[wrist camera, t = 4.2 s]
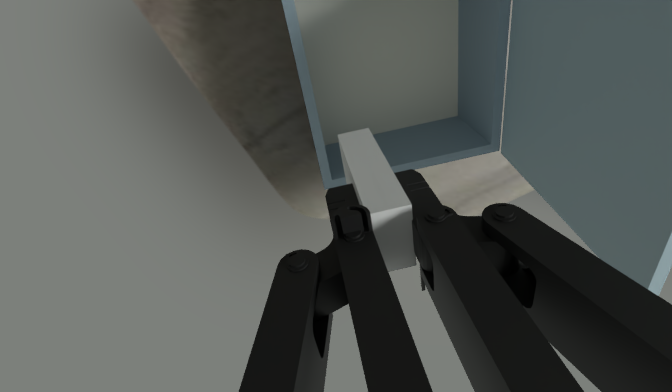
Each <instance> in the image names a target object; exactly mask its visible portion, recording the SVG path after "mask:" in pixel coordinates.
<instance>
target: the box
mask: <svg viewBox="0 0 672 392" xmlns="http://www.w3.org/2000/svg"><path fill="white" fill-rule="evenodd" d="M282 4H283V9H284V13H285V18H286V22H287V26H288V31H289V35H290V39H291V44H292V48H293V53H294V57H295V61H296V66H297V70H298V74H299V79H300V83H301V88H302V92H303V96H304V101H305V105H306V109H307V114H308V118H309V123H310V127H311V131H312V136H313V140H314V145H315V149H316V153H317V158H318V162H319V166H320V171H321V175H322V180H323V184H324V188H325V190H326V189H329V188H333V187H338V186H342V185H347V183H346V178H345V173H344V167H343V162H342V157H341V151H340V146H339V141H338V134H343V133H347V132H352V131H356V130H361V129H365V128H369V130H370V131H371V133H372V135H373V137H374V138H375V140H376V142H377V144H378V146H379V147H380V149H381V151H382V153H383V154H384V156H385V158H386V160H387V162H388V163H389V165H390V167H391V169H392V170H393V172H394V173H396V172H400V171H405V170H409V169H413V170H415V169H419V168H424V167H428V166H433V165H437V164H441V163H446V162H450V161H455V160H459V159H464V158H468V157H473V156H477V155H482V154H486V153H490V152H495V151H499V148H500V135H501V122H502V109H503V96H504V83H505V69H506V56H507V43H508V30H509V17H510V4H511V0H282Z"/></svg>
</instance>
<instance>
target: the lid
mask: <svg viewBox="0 0 672 392" xmlns="http://www.w3.org/2000/svg"><path fill="white" fill-rule="evenodd" d="M501 154H502V155H503V156H504V157H505V158H506V159H507V160H508V161H509V162H510V163H511V164H512V165H513V166H514V167H515V169H516V170H517V171H518V172H519V173H520V174H521V175H522V176H523V177H524V178H525V179H526V180H527V181H528V182H529V184H530V185H531V186H532V187H533V188H534V189H535V190H536V191H537V192H538V193H539V194H540V195H541V196H542V197H543V199H544V200H545V201H546V202H547V203H548V204H549V205H550V206H551V207H552V208H553V209H554V210H555V211H556V212H557V213H558V215H559V216H560V217H561V218H562V219H563V220H564V221H565V222H566V223H567V224H568V225H569V226H570V227H571V229H572V230H574V232H575V233H576V234H577V235H578V236H579V237H580V238H581V239H582V240H583V241H584V242H585V243H586V244H587V246H588V247H589V248H590V249H591V250H592V251H593V252H594V253H595V254H596V255H597V256H598V257H599V258H600V259H601V260H603V261H604V262H606V263H607V264H609V265H610V266H612V267H614V268H615V269H617V270H618V271H620V272H621V273H623V274H625V275H626V276H628V277H629V278H631V279H632V280H634V281H635V282H637V283H639V284H640V285H642V286H643V287H645V288H646V289H648V290H650V291H651V292H653V293H654V294H656V295H657V296H659V293H660V291H661V289H662V287H663V284H664V282H665V280H666V278H667V276H668V273H669V271H670V269H671V267H672V0H513V7H512V20H511V32H510V45H509V58H508V70H507V83H506V95H505V108H504V121H503V133H502V146H501Z"/></svg>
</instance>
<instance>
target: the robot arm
mask: <svg viewBox="0 0 672 392" xmlns="http://www.w3.org/2000/svg"><path fill="white" fill-rule="evenodd" d="M338 141H339V146H340V151H341V157H342V162H343V167H344V173H345V178H346V183H347V185H342V186H338V187H333V188H329V189H328V192H327V194H326V196H325V197H326V202H327V206H328V211H329V215H330V222H331V226H332V230H333V240H332V242H331V243H330V245H329V246H328V247H326V248H325V249H324V250H322V251H320V252H318V253H316V254H315V253H314V252H312V251H309V250H302V249H301V250H296V251H293V252H291V253H289V254H286V255H285V256H284V257H283V258H282V259H281V260H280V262H279V264H278V266H277V269H276V273H275V276H274V279H273V283H272V286H271V289H270V292H269V295H268V299H267V302H266V305H265V308H264V312H263V315H262V318H261V321H260V325H259V328H258V331H257V334H256V337H255V341H254V344H253V347H252V351H251V354H250V357H249V360H248V364H247V367H246V370H245V373H244V376H243V380H242V383H241V386H240V389H239V392H324V384H325V376H326V368H327V360H328V351H329V343H330V335H331V326H332V318H333V314H332V313H333V312H334V311H336V310H338V309H340V308H342V307H343V306H345V305H347V304H349V307H350V311H351V316H352V320H353V325H354V329H355V334H356V338H357V343H358V347H359V352H360V356H361V361H362V365H363V370H364V374H365V379H366V384H367V388H368V392H432V389H431V386H430V384H429V381H428V378H427V375H426V373H425V370H424V367H423V365H422V362H421V359H420V357H419V354H418V351H417V348H416V346H415V343H414V340H413V338H412V335H411V332H410V330H409V327H408V324H407V321H406V319H405V316H404V313H403V311H402V308H401V305H400V303H399V300H398V297H397V294H396V292H395V289H394V286H393V284H392V281H391V278H390V275H389V273H388V272H390V271H394V270H398V269H403V268H407V267H411V266H415V265H416V257H417V259H418V261H419V263H420V273H421V286H422V291H423V290H425V285H426V287H427V289H428V292H429V294H430V296H431V298H432V300H433V302H434V304H435V306H436V309H437V311H438V313H439V315H440V318H441V320H442V322H443V324H444V326H445V328H446V330H447V333H448V335H449V337H450V339H451V341H452V343H453V345H454V348H455V350H456V352H457V354H458V356H459V359H460V361H461V363H462V365H463V367H464V369H465V371H466V374H467V376H468V378H469V380H470V382H471V385H472V387H473V389H474V391H475V392H584V391H583V390H582V388H581V387H580V385H579V384H578V383H577V381H576V380H575V378H574V377H573V376H572V374H571V373H570V371H569V370H568V369H567V368H566V366H565V364H564V363H563V362H562V360H561V359H560V357H559V356H558V355H557V353H556V352H555V350H554V349H553V348H552V346H551V345H550V343H551V344H552V345H553V346H554V347H555V348H556V349H557V350H558V351H559V352H560V353H561V354H562V355H563V356H564V357H565V358H566V359H567V360H568V361H570V362H571V363H572V364H573V365H574V366H575V367H576V368H577V369H578V370H579V371H580V372H581V373H582V374H584V376H585V377H586V378H588V379H589V380H590V381H591V382H592V383H593V384H594V385H595V386H596V387H597V388H598V389H599V390H600V391H601V392H672V305H671V304H670V303H668V302H667V301H665V300H664V299H662V298H660V297H659V296H657V295H656V294H654V293H653V292H651V291H650V290H648V289H646V288H645V287H643V286H642V285H640V284H639V283H637V282H635V281H634V280H632V279H631V278H629V277H628V276H626V275H625V274H623V273H621V272H620V271H618V270H617V269H615V268H614V267H612V266H610V265H609V264H607V263H606V262H604V261H603V260H601V259H599V258H598V257H596V256H595V255H593V254H592V253H590V252H588V251H587V250H585V249H584V248H582V247H581V246H579V245H578V244H576V243H574V242H573V241H571V240H570V239H568V238H567V237H565V236H563V235H562V234H560V233H559V232H557V231H556V230H554V229H552V228H551V227H549V226H548V225H546V224H545V223H543V222H542V221H540V220H538V219H537V218H535V217H534V216H532V215H530V214H528V213H527V212H526V211H524V210H523V209H521V208H519V207H517V206H515V205H512V204H507V203H496V204H493V205H489V206H488V207H486V208H485V209H484V210H483V212H482V216H460V215H457V213H456V212H455V211H454V210H453V209H451V208H449V207H447V206H443V205H442V204H441V203H440V201H439V200H438V198H437V197H436V195H435V194H434V192H433V191H432V189H431V188H429V185H428V184H427V182H426V181H425V179H424V178H423V176H422V175H421V174H420V173H418V172H416V171H415V170H413V169H409V170H405V171H400V172H396V173H394V172H393V170H392V169H391V167H390V165H389V163H388V162H387V160H386V158H385V156H384V154H383V153H382V151H381V149H380V147H379V146H378V144H377V142H376V140H375V138H374V137H373V135H372V133H371V131H370V130H369V128H365V129H361V130H356V131H352V132H347V133H343V134H338Z"/></svg>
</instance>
